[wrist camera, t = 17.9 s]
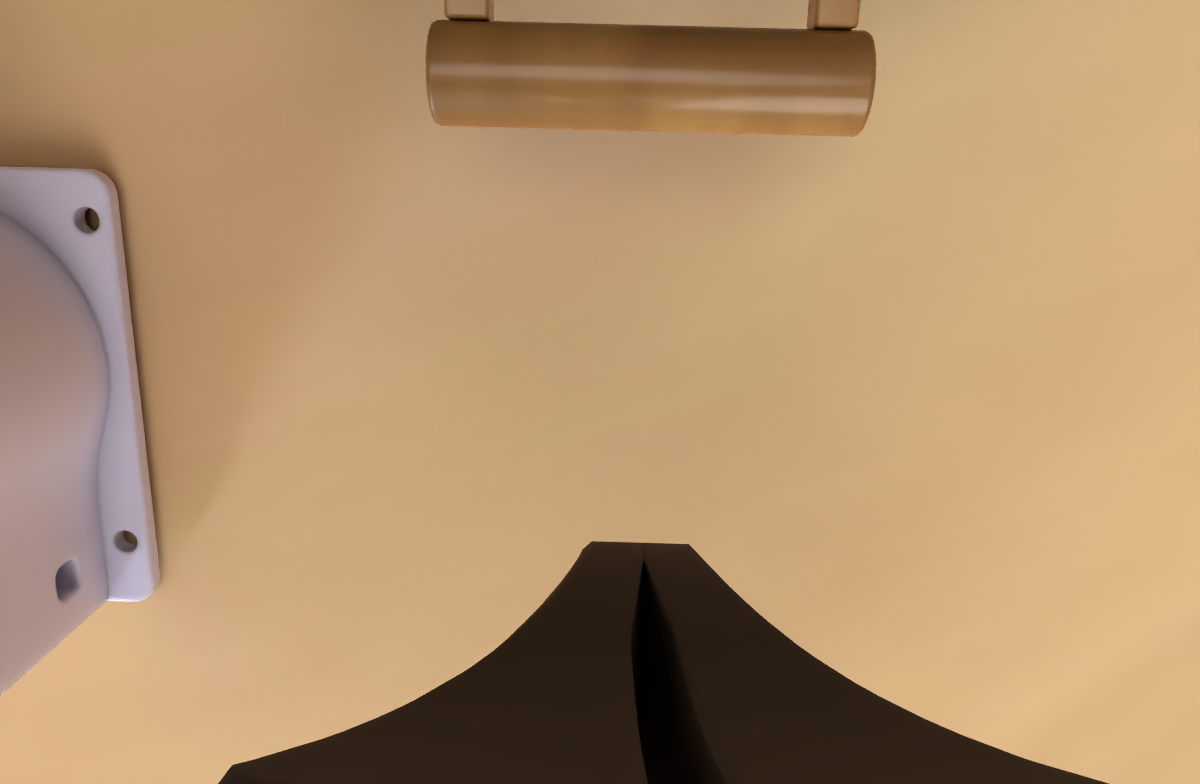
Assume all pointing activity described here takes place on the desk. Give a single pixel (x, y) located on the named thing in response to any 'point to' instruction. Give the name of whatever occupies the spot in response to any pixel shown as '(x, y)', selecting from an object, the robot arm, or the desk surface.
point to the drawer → (652, 74)
